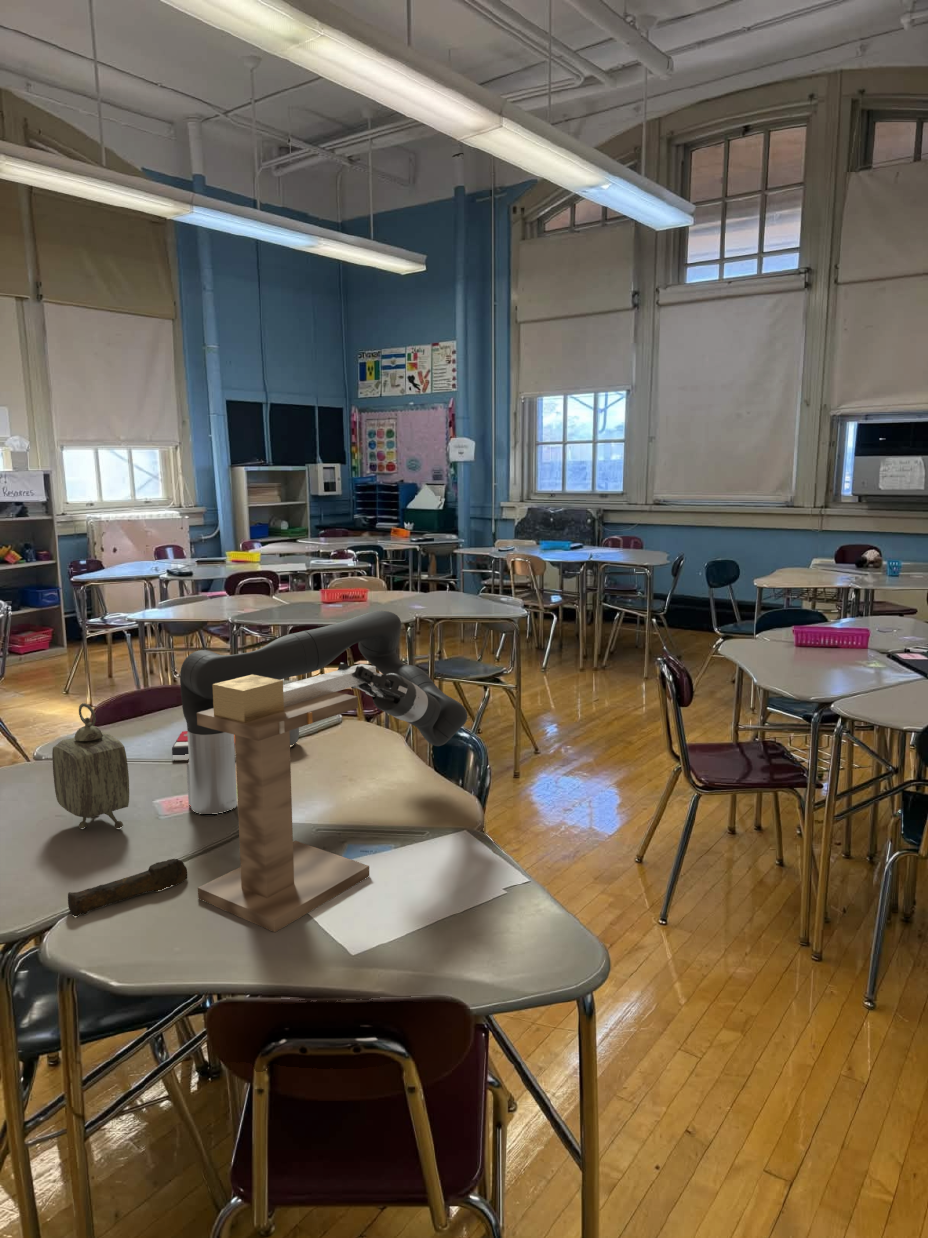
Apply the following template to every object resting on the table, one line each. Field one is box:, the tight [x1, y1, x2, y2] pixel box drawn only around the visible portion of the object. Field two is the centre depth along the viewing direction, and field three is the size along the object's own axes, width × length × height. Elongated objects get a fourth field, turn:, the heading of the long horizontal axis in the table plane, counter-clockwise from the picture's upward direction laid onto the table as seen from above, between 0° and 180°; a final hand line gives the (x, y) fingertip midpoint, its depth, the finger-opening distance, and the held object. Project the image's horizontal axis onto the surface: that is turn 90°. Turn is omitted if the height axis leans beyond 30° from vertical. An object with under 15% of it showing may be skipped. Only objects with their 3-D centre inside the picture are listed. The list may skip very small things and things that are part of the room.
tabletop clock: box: [51, 702, 130, 829], centre depth 163 cm, size 14×9×25 cm, turn 47°
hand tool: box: [67, 858, 188, 917], centre depth 137 cm, size 19×4×5 cm, turn 128°
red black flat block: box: [171, 730, 189, 756], centre depth 212 cm, size 11×4×15 cm
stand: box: [197, 691, 370, 933], centre depth 138 cm, size 18×22×32 cm
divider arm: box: [212, 663, 377, 723], centre depth 140 cm, size 7×32×5 cm, turn 146°
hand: (348, 669), depth 149 cm, fingers closed on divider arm, 3 cm apart
